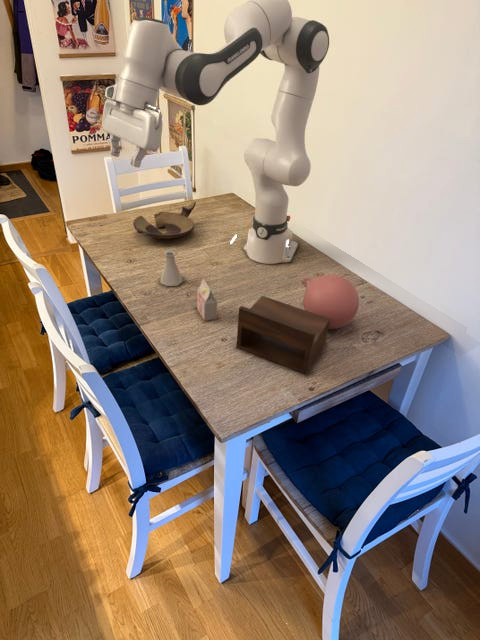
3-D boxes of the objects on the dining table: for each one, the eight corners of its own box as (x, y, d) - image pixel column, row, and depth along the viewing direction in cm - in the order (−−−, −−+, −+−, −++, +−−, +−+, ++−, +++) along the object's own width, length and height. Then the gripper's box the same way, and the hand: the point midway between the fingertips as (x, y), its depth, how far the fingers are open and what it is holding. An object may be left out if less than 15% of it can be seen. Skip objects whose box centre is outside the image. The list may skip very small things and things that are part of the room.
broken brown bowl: (122, 229, 170) (120, 211, 165) (189, 215, 185) (189, 197, 180) (148, 253, 156) (147, 233, 151) (218, 235, 170) (219, 217, 166)
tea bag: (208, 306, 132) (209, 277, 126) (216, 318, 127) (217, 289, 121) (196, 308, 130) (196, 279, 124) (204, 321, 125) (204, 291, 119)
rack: (259, 321, 127) (263, 283, 119) (324, 345, 120) (333, 306, 112) (236, 347, 117) (238, 308, 109) (305, 375, 110) (313, 334, 102)
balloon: (320, 296, 140) (329, 253, 130) (363, 331, 126) (376, 285, 117) (280, 307, 133) (286, 263, 124) (321, 346, 119) (331, 299, 110)
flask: (178, 288, 138) (177, 260, 132) (156, 285, 139) (155, 257, 133) (185, 277, 144) (184, 250, 138) (164, 273, 145) (163, 246, 139)
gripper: (174, 112, 95) (159, 175, 100) (125, 95, 107) (114, 152, 112) (150, 104, 90) (136, 171, 96) (102, 87, 102) (91, 147, 107)
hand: (124, 161), depth 104 cm, fingers open, 8 cm apart
